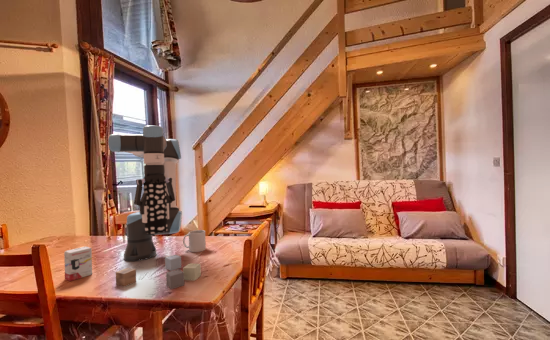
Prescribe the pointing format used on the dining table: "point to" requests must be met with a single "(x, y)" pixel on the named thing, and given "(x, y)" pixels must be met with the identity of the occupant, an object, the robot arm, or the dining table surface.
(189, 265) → the sage block
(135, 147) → the robot arm
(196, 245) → the mug
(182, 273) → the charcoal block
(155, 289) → the dining table surface
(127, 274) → the walnut block
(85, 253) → the ink box
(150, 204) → the spotted tube
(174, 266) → the dusty blue block
